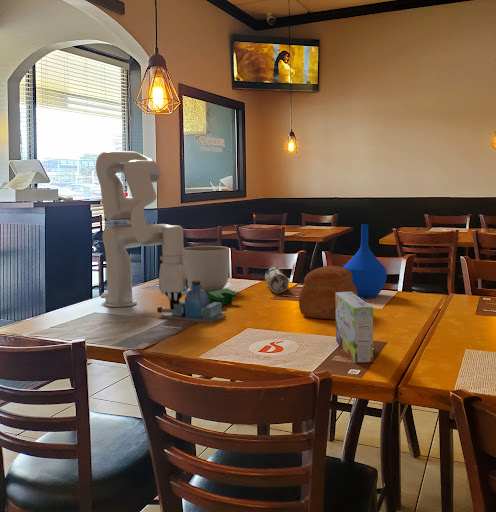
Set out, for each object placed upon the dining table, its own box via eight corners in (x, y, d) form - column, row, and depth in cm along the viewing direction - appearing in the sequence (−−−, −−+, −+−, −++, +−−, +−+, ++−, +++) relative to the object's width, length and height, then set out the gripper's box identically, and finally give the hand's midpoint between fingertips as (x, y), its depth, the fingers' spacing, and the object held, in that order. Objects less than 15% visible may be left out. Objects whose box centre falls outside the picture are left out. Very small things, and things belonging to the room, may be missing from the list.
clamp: (218, 318, 215) (215, 300, 210) (207, 313, 219) (204, 294, 214) (239, 302, 223) (237, 284, 218) (228, 297, 226) (225, 279, 221)
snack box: (333, 341, 166) (334, 291, 164) (352, 341, 166) (353, 291, 165) (353, 364, 145) (354, 306, 143) (374, 363, 146) (375, 306, 144)
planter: (228, 294, 241) (227, 250, 238) (180, 295, 241) (179, 251, 239) (230, 286, 261) (230, 245, 259) (186, 286, 262) (185, 246, 259)
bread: (295, 317, 198) (295, 270, 196) (315, 305, 217) (315, 262, 215) (343, 322, 190) (343, 273, 188) (360, 309, 209) (360, 264, 207)
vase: (392, 294, 238) (393, 223, 234) (377, 301, 222) (378, 226, 219) (351, 290, 248) (352, 222, 244) (334, 297, 232) (335, 225, 229)
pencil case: (264, 286, 262) (264, 265, 260) (282, 285, 262) (282, 264, 261) (269, 294, 240) (269, 272, 239) (289, 294, 241) (289, 271, 239)
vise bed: (161, 318, 198) (160, 304, 198) (177, 311, 208) (176, 298, 208) (211, 322, 190) (211, 308, 190) (225, 316, 200) (225, 302, 200)
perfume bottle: (192, 312, 203) (192, 279, 201) (208, 313, 201) (207, 280, 199) (185, 315, 197) (184, 282, 196) (201, 317, 195) (200, 283, 193)
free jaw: (156, 314, 200) (155, 303, 199) (170, 308, 208) (169, 298, 208) (181, 316, 195) (181, 305, 195) (195, 310, 204) (194, 300, 204)
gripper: (149, 260, 200) (151, 311, 202) (186, 262, 194) (187, 314, 196) (161, 258, 206) (162, 307, 209) (196, 259, 200) (198, 309, 203)
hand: (174, 310), depth 202 cm, fingers closed
